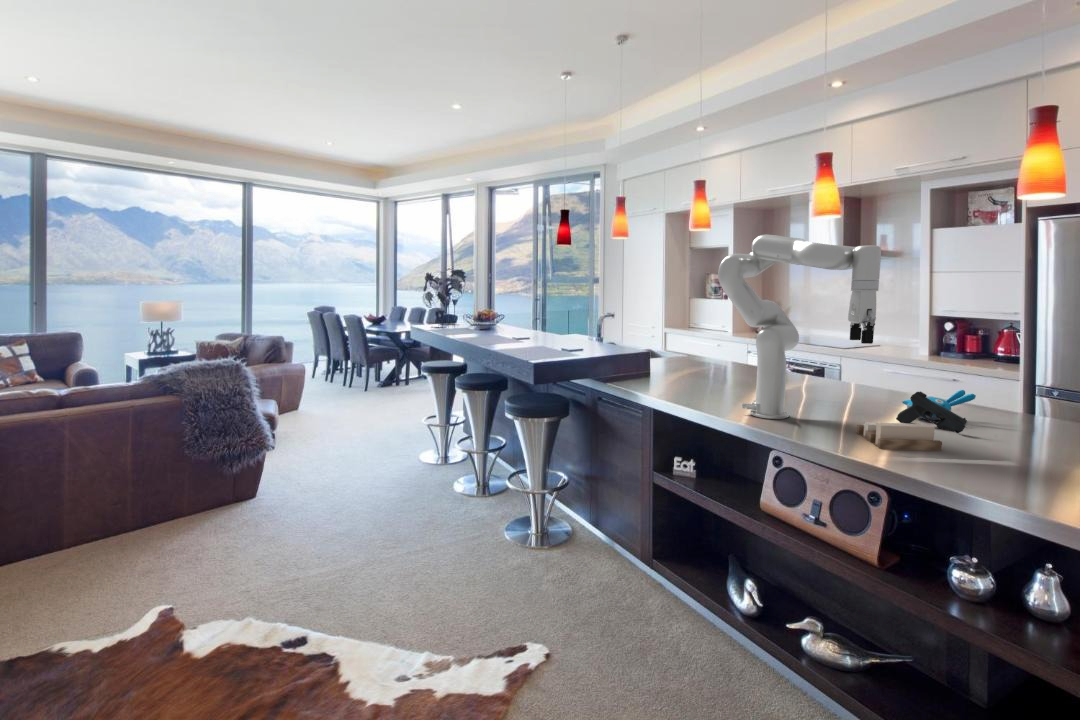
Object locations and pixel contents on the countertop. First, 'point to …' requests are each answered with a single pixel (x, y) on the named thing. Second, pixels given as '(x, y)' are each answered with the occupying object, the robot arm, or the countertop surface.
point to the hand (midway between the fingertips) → (860, 341)
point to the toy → (946, 403)
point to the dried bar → (872, 426)
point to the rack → (899, 442)
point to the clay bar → (904, 431)
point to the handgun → (931, 413)
